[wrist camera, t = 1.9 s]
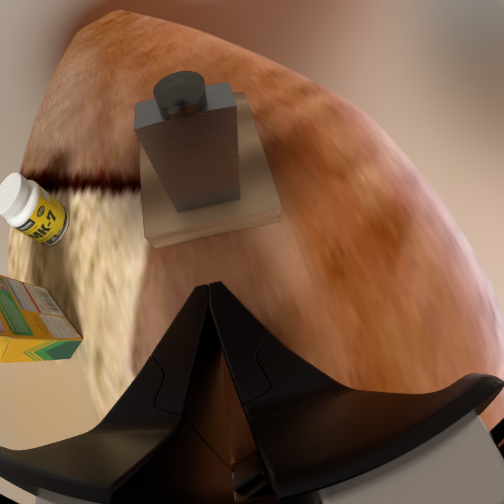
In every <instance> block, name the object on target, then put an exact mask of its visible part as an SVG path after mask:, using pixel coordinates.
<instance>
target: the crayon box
mask: <svg viewBox="0 0 504 504" xmlns="http://www.w3.org/2000/svg"><path fill="white" fill-rule="evenodd" d="M82 340H83V338H82V337H81V336H80V335H79V334H78V333H77V331H76V330H75V329H74V327H73V326H72V325H71V324H70V322H69V321H68V320H67V318H66V317H65V315H64V314H63V313H62V311H61V310H60V309H59V307H58V306H57V304H56V303H55V302H54V300H53V299H52V297H51V296H50V294H49V293H48V291H47V289H45V288H42V287H38V286H35V285H31V284H27V283H24V282H21V281H17V280H14V279H11V278H8V277H5V276H1V275H0V363H14V362H31V361H45V360H59V359H70V358H71V356H72V355H73V353H74V352H75V350H76V349H77V348H78V346H79V345H80V343H81V342H82Z"/></svg>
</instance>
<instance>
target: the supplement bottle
mask: <svg viewBox="0 0 504 504" xmlns="http://www.w3.org/2000/svg"><path fill="white" fill-rule="evenodd" d="M0 215H1V216H3V217H4V218H6V220H7V222H8V224H9V225H10V226H12V227H13V228H15V229H17V230H18V231H20V232H22V233H23V234H25V235H27V236H29V237H30V238H32V239H34V240H36V241H37V242H39V243H41V244H43V245H46V246H51V245H54V244H56V243H57V242H58V241H59V240H60V239H61V238H62V237H63V235H64V234H65V232H66V230H67V227H68V223H69V215H68V212H67V210H66V208H65V207H64V206H63V205H61V204H60V203H59V202H58V201H57V200H56V199H54V198H53V197H52V196H51V195H50V194H48V193H47V192H46V191H45V190H44V189H43V188H42V187H40V186H39V185H38V184H37V183H36V182H34V181H32V180H26V178H24V177H23V176H22V175H20V174H19V173H12V174H10V175H9V176H8V177H7V178H6V179H5V180H4V181H3V182H2V184H1V186H0Z"/></svg>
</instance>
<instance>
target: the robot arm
mask: <svg viewBox="0 0 504 504" xmlns="http://www.w3.org/2000/svg"><path fill="white" fill-rule="evenodd" d="M223 354H224V357H225V360H226V363H227V365H228V368H229V371H230V374H231V377H232V380H233V383H234V386H235V389H236V391H237V394H238V397H239V400H240V402H241V405H242V408H243V411H244V413H245V416H246V419H247V421H248V424H249V427H250V430H251V433H252V436H253V438H254V441H255V444H256V447H257V451H254V452H253V453H251V454H250V455H249V456H248V457H246V458H245V459H244V460H242V461H241V462H240V463H238V464H237V465H236V466H235V470H233V471H232V472H231V462H230V451H229V439H228V427H227V413H226V399H225V383H224V365H223ZM503 387H504V381H503V380H501V379H499V378H498V377H496V376H492V375H488V374H478V373H470V374H468V375H465V376H464V377H462V378H461V379H459V380H458V381H456V382H455V383H453V384H452V385H450V386H448V387H446V388H444V389H442V390H439V391H436V392H432V393H426V394H404V393H387V392H374V391H364V390H356V389H353V388H350V387H347V386H345V385H343V384H341V383H339V382H337V381H336V380H334V379H333V378H331V377H330V376H328V375H326V374H325V373H323V372H322V371H320V370H319V369H317V368H316V367H314V366H313V365H312V364H310V363H309V362H307V361H306V360H304V359H303V358H301V357H300V356H299V355H297V354H296V353H295V352H293V351H292V350H291V349H289V348H288V347H287V346H286V345H285V344H284V343H283V342H281V341H280V340H279V339H278V338H277V337H276V336H275V335H274V334H273V333H271V331H270V330H269V329H268V328H267V327H266V326H265V325H264V324H263V323H262V322H261V321H260V320H259V319H258V318H257V317H256V316H255V315H254V314H253V313H252V312H251V311H250V310H249V309H248V308H247V307H246V306H245V305H244V304H243V303H242V302H241V301H240V300H239V299H238V298H237V297H236V296H235V295H234V294H233V293H232V292H231V291H230V290H229V289H228V288H227V287H226V286H225V285H224V284H223V283H222V282H221V281H218V282H214V283H210V284H209V286H208V285H207V284H205V285H200V286H196V287H195V288H194V290H193V291H192V293H191V294H190V296H189V297H188V299H187V300H186V302H185V303H184V305H183V306H182V308H181V309H180V311H179V312H178V314H177V315H176V317H175V318H174V320H173V321H172V323H171V324H170V326H169V327H168V329H167V331H166V332H165V334H164V335H163V337H162V338H161V340H160V341H159V343H158V344H157V346H156V348H155V349H154V351H153V352H152V354H151V356H150V357H149V358H148V360H147V361H146V363H145V365H144V366H143V368H142V369H141V370H140V372H139V373H138V375H137V376H136V378H135V379H134V380H133V382H132V383H131V384H130V386H129V387H128V388H127V390H126V391H125V392H124V394H123V395H122V396H121V397H120V399H119V400H118V401H117V402H116V404H115V405H114V406H113V407H112V409H111V410H110V411H109V412H108V414H107V415H106V416H105V418H104V419H103V420H102V421H101V422H100V423H99V424H98V425H97V426H96V427H95V428H93V429H92V430H90V431H88V432H86V433H84V434H81V435H78V436H75V437H72V438H69V439H65V440H62V441H59V442H55V443H52V444H48V445H44V446H41V447H37V448H33V449H28V450H10V449H7V448H4V447H1V446H0V477H2V478H4V479H5V480H7V481H9V482H10V483H12V484H14V485H16V486H18V487H19V488H21V489H23V490H25V491H27V492H29V493H31V494H33V495H35V496H36V504H504V418H503V419H502V420H501V421H500V422H499V423H498V424H497V425H496V426H495V427H494V428H493V429H492V430H491V431H489V430H488V428H487V427H486V425H485V424H484V422H483V421H482V419H481V417H480V416H479V415H480V414H481V413H482V412H483V411H484V410H485V409H486V408H487V407H488V405H489V404H490V403H491V402H492V401H493V400H494V399H495V398H496V396H497V395H498V394H499V393H500V391H501V390H502V389H503ZM232 479H233V480H232ZM233 491H234V492H236V500H234V492H233ZM0 504H19V503H17V502H15V501H13V500H11V499H9V498H7V497H5V496H4V495H1V494H0Z"/></svg>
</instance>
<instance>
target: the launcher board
mask: <svg viewBox="0 0 504 504" xmlns="http://www.w3.org/2000/svg"><path fill="white" fill-rule="evenodd" d="M233 96H234V99H235V102H236V105H237V128H238V152H239V175H240V198H241V199H239V200H234V201H229V202H224V203H220V204H215V205H211V206H206V207H202V208H197V209H193V210H189V211H184V212H180V213H178V212H177V210H176V209H175V207H174V205H173V203H172V201H171V199H170V198H169V196H168V194H167V192H166V190H165V188H164V186H163V185H162V183H161V181H160V179H159V177H158V175H157V173H156V171H155V169H154V168H153V166H152V164H151V162H150V160H149V158H148V156H147V154H146V152H145V150H144V148H143V146H142V144H141V142H140V176H141V197H142V212H143V224H144V235H145V238H146V239H147V240H148V241H149V242H150V243H151V244H152V245H153V246H154V247H155V248H156V249H157V248H161V247H166V246H170V245H174V244H179V243H183V242H187V241H192V240H196V239H201V238H205V237H209V236H214V235H218V234H223V233H228V232H232V231H237V230H241V229H246V228H251V227H255V226H260V225H265V224H270V223H275V222H278V220H279V216H280V213H281V209H282V206H281V203H280V199H279V196H278V193H277V190H276V186H275V183H274V180H273V177H272V174H271V171H270V167H269V164H268V161H267V158H266V155H265V152H264V149H263V146H262V143H261V140H260V137H259V134H258V131H257V128H256V125H255V123H254V120H253V117H252V114H251V111H250V108H249V105H248V103H247V100H246V97H245V94H244V92H239V93H233Z"/></svg>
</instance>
